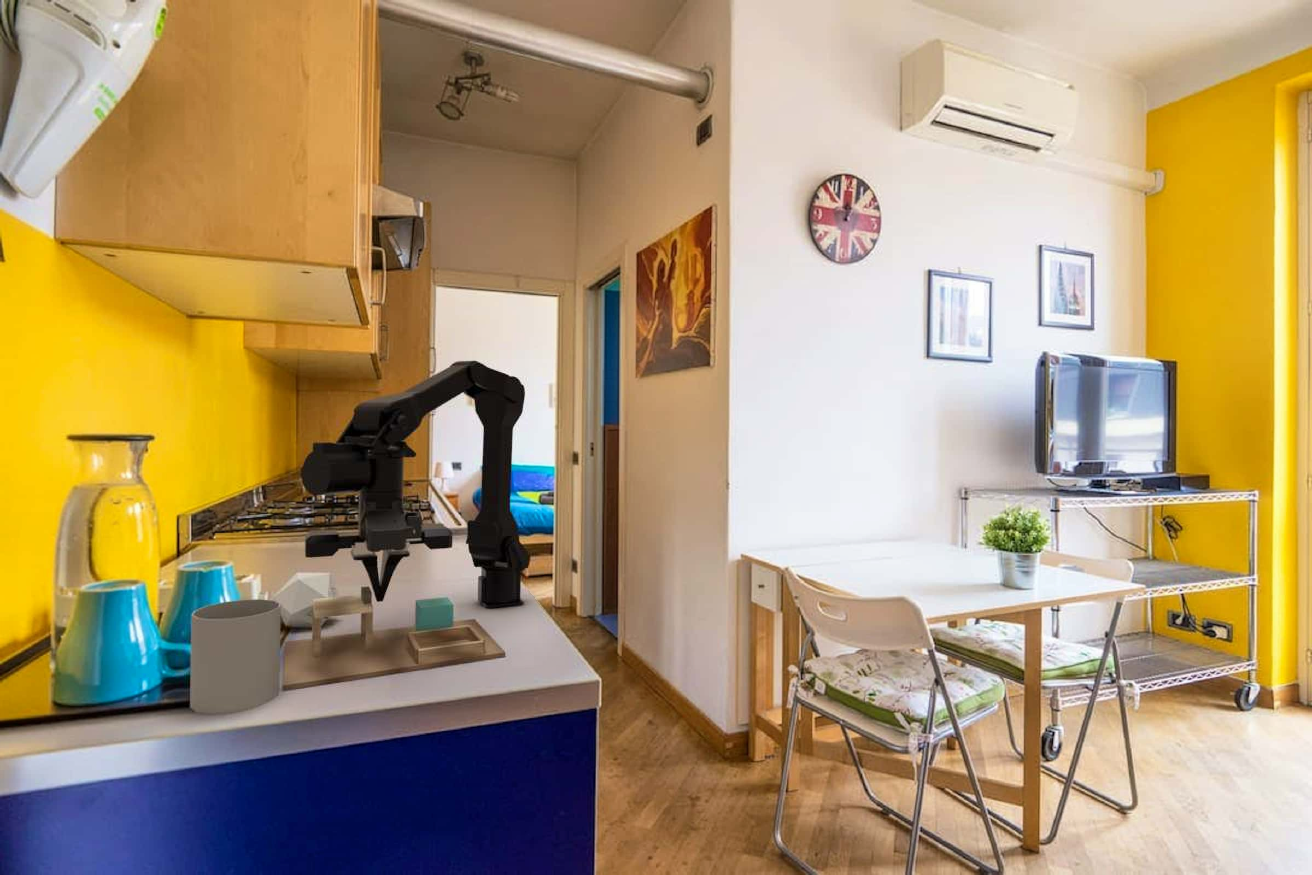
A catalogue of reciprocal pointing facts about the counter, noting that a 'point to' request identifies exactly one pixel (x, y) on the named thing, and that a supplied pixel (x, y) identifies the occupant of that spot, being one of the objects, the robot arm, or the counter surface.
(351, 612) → the bridge
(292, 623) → the die
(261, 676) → the cup
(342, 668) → the board
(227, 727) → the counter surface
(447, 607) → the block
